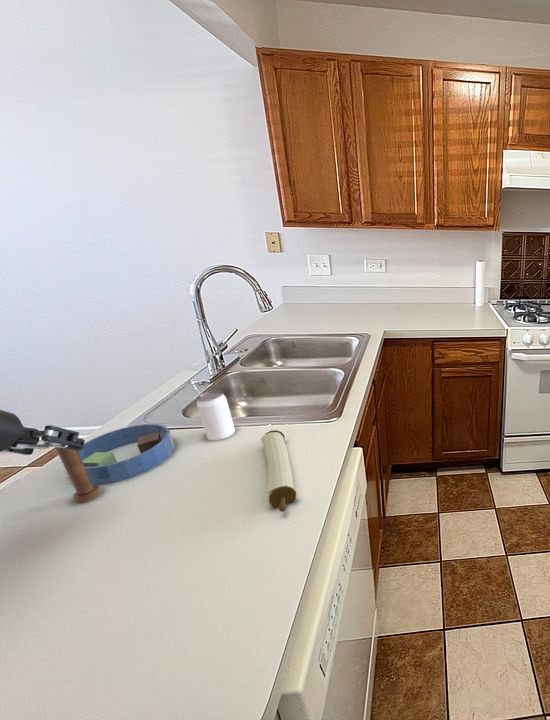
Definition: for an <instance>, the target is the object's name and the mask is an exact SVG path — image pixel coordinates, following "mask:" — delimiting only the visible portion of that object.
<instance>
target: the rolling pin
mask: <svg viewBox="0 0 550 720" xmlns="http://www.w3.org/2000/svg"><path fill="white" fill-rule="evenodd" d="M260 441H261V444H262V448H263V450H264V455H265V459H266V464H267V476H268V477H267V485H266V492H265V493H266V494H267V493H269V499H268V502H269V504H270V505H271V506H272V507H273V508H278V510H279V511H280V512H281V513H283V512H285V511H286V509H287V505H290V504H293V503H294V502H295V501H296V499H297V491H296V490H295V484H294V477H293V471H292V465H291V462H290V457H289V453H288V450H287V445H286V442H285V434H284V433H283V432H282V431H280V430H277V429H275V430H269V431H268V432H265V434H264V435H263V436H262V437H261V438H260Z"/></svg>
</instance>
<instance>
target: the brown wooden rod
mask: <svg viewBox="0 0 550 720" xmlns="http://www.w3.org/2000/svg"><path fill="white" fill-rule="evenodd" d="M54 449H55V450H56V452H57V454H58V456H59V459H60V460H61V463H62V465H63V467H64V469H65V472H66V474H67V475H68V478H69V479H70V482H71V484H72V486H73V488H74V491H75V492H74V493H73V494H72V497H73V499H74V501H75V503H76V504H83V503H88V502H90V501H93V500H94V499H96V498H98V497H99V496H100V495H101V494H102V490H101V488H100V486H99V485H93V484H92V482H91V479H90V477H89V475H88V473H87V471H86V468H85V466H84V464H83V462H82V460H81V457H80V455H79V453H78V451H75V450H70V449H66V448H60V447H54Z"/></svg>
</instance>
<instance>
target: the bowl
mask: <svg viewBox="0 0 550 720" xmlns="http://www.w3.org/2000/svg"><path fill="white" fill-rule="evenodd" d="M158 432H159V434H160V436H161V439H162V441H161V442H160V443H158V444H157V445H155V446H154V447H153V448H151V449H149V450H147V451H145V452H143V453H140V454H137V455H134V456H132V457H129V458H126V459H124V460H120V461H117V462H116V463H112V464H108V465H101V466H94V467H85V468H86V471H87V473H88V475H89V477H90V479H91V482H92V484H93V485H98V486H99V485H105V484H106V485H107V484H112V483H116V482H120V481H124V480H127V479H130V478H131V479H132V478H133V477H135V476H138V475H140V474H143V473H146V472H147V471H149V470H151V469H153V468H155V467H157V466H159V465H160V464H162V463H163V462H164V461H165V460H167V459H168V458H169V457H170V456H171V454H172V453H173V452H174V451H175V442H174V439H173V437H172V434H171V431H170V429H169V428H168V427H167V426H166V425H162V424H159V423H144V424H134V425H131V426H126V427H121V428H118V429H115V430H112V431H109V432H106V433H103V434H101V435H98V436H96V437H94V438H91V439H90V440H87V441H85V442H84V446H83V449H82V450H80V451H78V453H79V455H80V457H81V460H82V461H83V460H85V459H86V458H88V457H89V456H91V455H92V454H94V453H95V452H110V451H111V450H114V449H116V448H120V447H122V446H126V445H130V444H133V443H136V442H137V443H138V439H139V437H142V436H146V435H150V434H154V433H158Z"/></svg>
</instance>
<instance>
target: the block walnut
mask: <svg viewBox="0 0 550 720" xmlns="http://www.w3.org/2000/svg"><path fill="white" fill-rule="evenodd" d="M161 441H162V439H161V436H160V434H159V432H158V433H154V434H150V435H146V436H142V437H139V439H138V442H137V445H136V446H137V448H138V450H139V453H140V454H141V453H143V452H145V451H147V450H149V449H151V448H153V447H154V446H155V445H157V444H158V443H160V442H161Z"/></svg>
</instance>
